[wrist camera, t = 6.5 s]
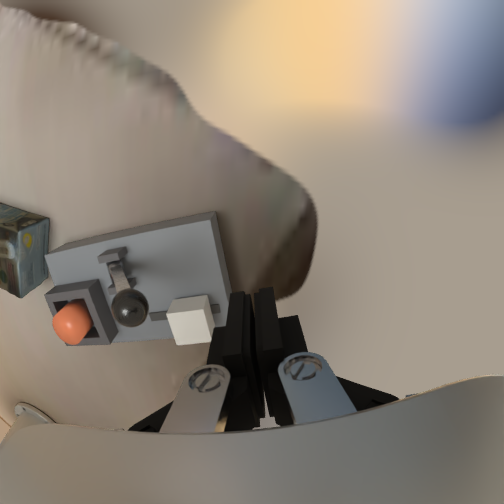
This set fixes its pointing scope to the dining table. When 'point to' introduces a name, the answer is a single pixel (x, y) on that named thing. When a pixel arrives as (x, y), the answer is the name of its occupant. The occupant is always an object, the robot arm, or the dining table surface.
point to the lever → (126, 298)
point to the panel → (143, 275)
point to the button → (73, 321)
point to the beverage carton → (22, 250)
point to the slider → (191, 320)
